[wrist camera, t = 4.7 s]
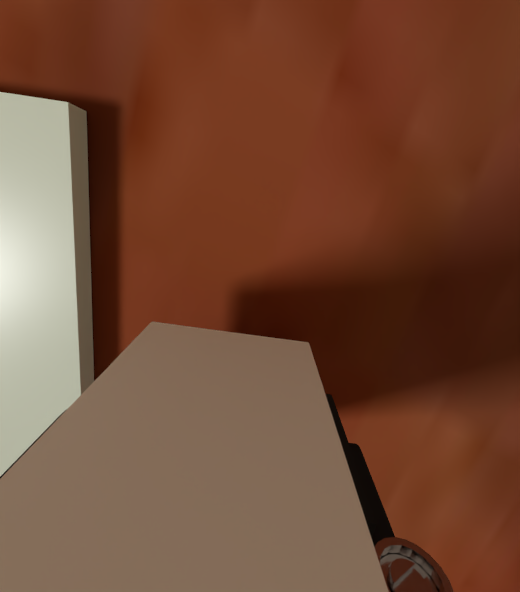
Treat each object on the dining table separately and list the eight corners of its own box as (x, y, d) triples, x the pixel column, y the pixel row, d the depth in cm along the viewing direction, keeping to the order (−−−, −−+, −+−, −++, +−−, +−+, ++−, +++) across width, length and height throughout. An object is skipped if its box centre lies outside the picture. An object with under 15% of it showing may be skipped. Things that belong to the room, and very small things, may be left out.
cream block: (284, 467, 11) (325, 1023, 4) (146, 450, 11) (-112, 989, 4) (308, 342, 10) (460, 821, 2) (151, 321, 10) (-262, 750, 2)
